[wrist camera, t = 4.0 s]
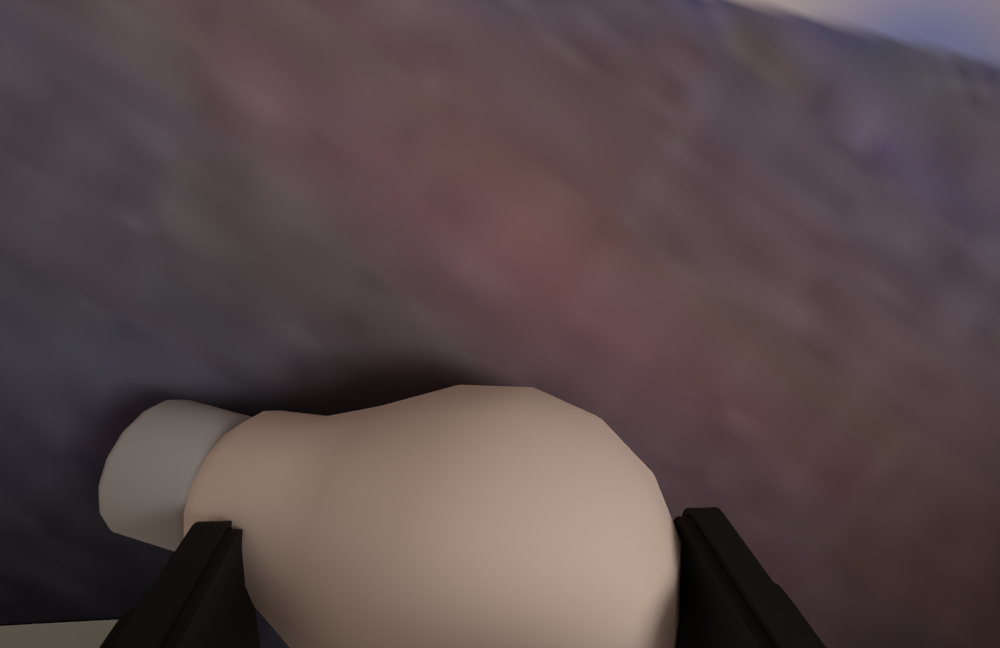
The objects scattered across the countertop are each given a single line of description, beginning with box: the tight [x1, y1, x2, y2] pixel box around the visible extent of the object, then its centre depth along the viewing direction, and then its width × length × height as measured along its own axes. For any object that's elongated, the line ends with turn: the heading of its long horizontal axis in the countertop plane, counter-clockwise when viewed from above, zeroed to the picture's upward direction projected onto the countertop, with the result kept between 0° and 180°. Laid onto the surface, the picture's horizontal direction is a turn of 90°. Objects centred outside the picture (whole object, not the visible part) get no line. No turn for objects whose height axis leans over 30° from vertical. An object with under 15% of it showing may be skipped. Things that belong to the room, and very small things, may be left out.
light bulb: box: [98, 385, 681, 648], centre depth 11 cm, size 7×7×11 cm
